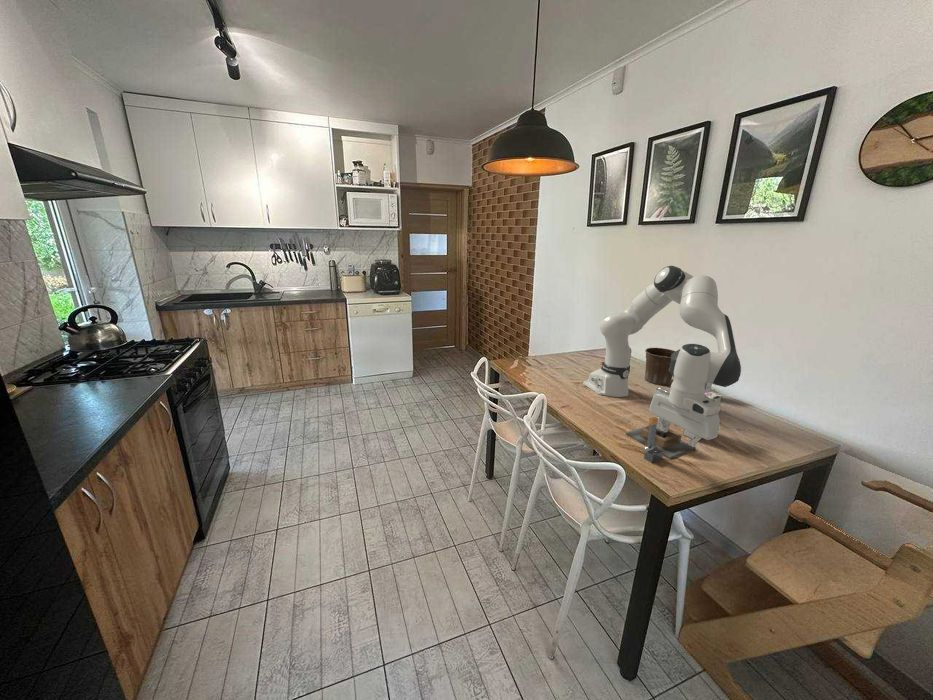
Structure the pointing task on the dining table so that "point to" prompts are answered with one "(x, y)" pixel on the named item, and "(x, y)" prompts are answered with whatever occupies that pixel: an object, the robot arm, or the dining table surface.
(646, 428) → the hitch block
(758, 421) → the dining table surface
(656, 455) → the retainer base
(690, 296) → the robot arm
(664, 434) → the steel pin
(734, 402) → the dining table surface
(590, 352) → the dining table surface
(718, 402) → the candy bar box
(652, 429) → the bar
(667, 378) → the plant pot
